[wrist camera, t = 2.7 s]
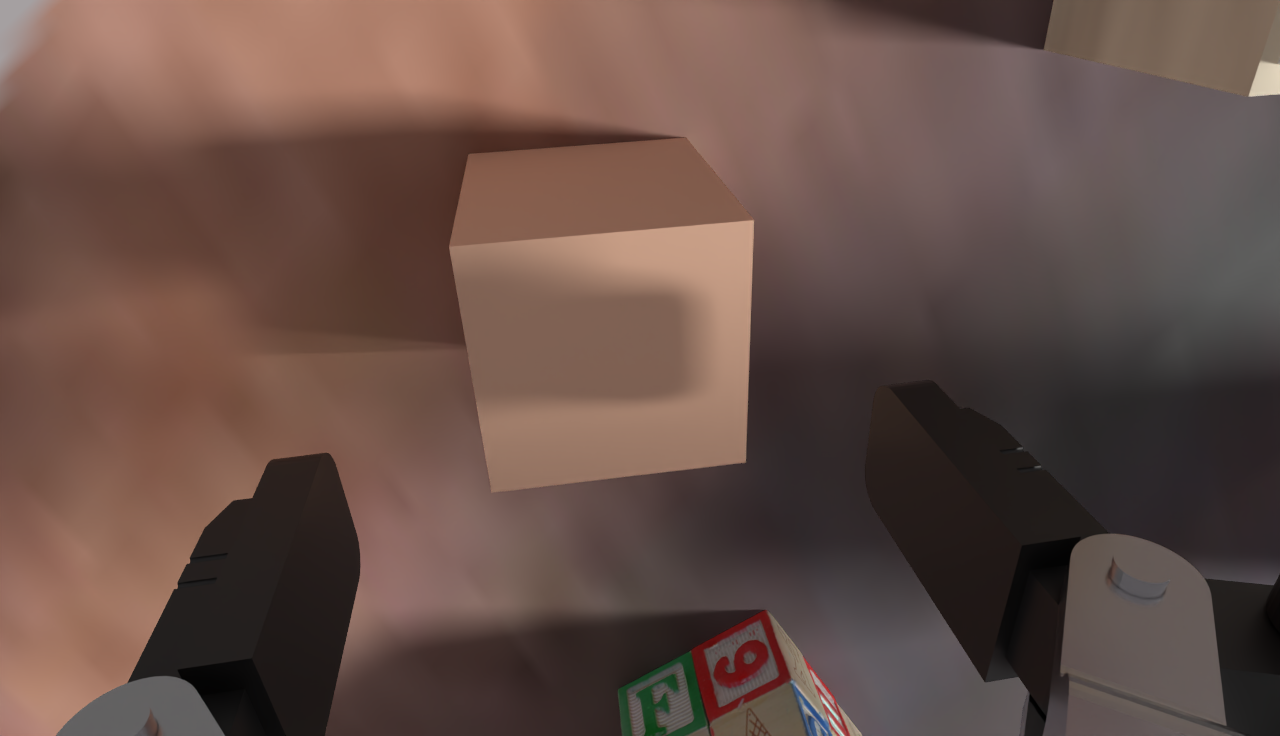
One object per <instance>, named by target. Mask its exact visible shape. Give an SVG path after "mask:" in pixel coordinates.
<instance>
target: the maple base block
mask: <svg viewBox="0 0 1280 736" xmlns="http://www.w3.org/2000/svg"><path fill="white" fill-rule="evenodd" d="M1044 50H1046V51H1050V52H1055V53H1059V54H1063V55H1068V56H1072V57H1077V58H1081V59H1085V60H1090V61H1094V62H1098V63H1103V64H1107V65H1112V66H1116V67H1120V68H1125V69H1129V70H1133V71H1138V72H1142V73H1147V74H1151V75H1155V76H1160V77H1164V78H1168V79H1173V80H1177V81H1182V82H1186V83H1190V84H1195V85H1199V86H1203V87H1208V88H1212V89H1217V90H1221V91H1225V92H1230V93H1234V94H1238V95H1243V96H1247V97H1251V96H1263V95H1275V94H1280V65H1279V64H1278V61H1279V58H1280V0H1054V1H1053V6H1052V11H1051V16H1050V21H1049V26H1048V31H1047V36H1046V41H1045V46H1044Z"/></svg>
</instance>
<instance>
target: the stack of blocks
mask: <svg viewBox="0 0 1280 736" xmlns="http://www.w3.org/2000/svg"><path fill="white" fill-rule="evenodd" d="M618 699H619V709H620V718H621V730H622V736H862V734H861V733H860V732H859V730H858V729H857V728H856V727H855V725H854V724H853V723H852V722H851V720H850V719H849V718H848V716H847V715H846V714H845V713H844V711H843V710H842V709H841V708H840V706H839V705H838V704H837V703H836V700H835V698H834V696H833V695H832V694H831V692H830V691H829V689H828V688H827V687H826V685H825V684H824V683H823V682H822V680H821V679H820V678H819V677H818V675H817V674H816V673H815V671H814V670H813V669H812V667H811V666H810V665H809V664H808V662H807V661H806V660H805V659H804V657H803V656H802V654H801V652H800V651H799V650H798V648H797V647H796V646H795V644H794V643H793V642H792V640H791V639H790V638H789V636H788V635H787V634H786V633H785V631H784V630H783V629H782V627H781V626H780V625H779V624H778V622H777V621H776V620H775V618H774V617H773V616H772V615H771V613H770V612H769V611H767V610H764V611H762V612H760V613H758V614H756V615H754V616H752V617H751V618H749V619H747V620H745V621H743V622H741V623H739V624H738V625H736V626H734V627H732V628H730V629H728V630H726V631H724V632H723V633H721V634H719V635H717V636H715V637H713V638H712V639H710V640H708V641H706V642H704V643H702V644H700V645H698V646H697V647H695V648H693V649H692V650H691V651H689V652H687V653H686V654H684V655H682V656H680V657H678V658H676V659H674V660H673V661H671V662H669V663H667V664H665V665H663V666H661V667H659V668H657V669H655V670H654V671H652V672H650V673H648V674H646V675H644V676H642V677H640V678H639V679H637V680H635V681H633V682H631V683H629V684H627V685H625V686H623V687H621V688H619V689H618Z"/></svg>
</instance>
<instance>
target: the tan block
mask: <svg viewBox="0 0 1280 736" xmlns="http://www.w3.org/2000/svg"><path fill="white" fill-rule="evenodd" d="M753 235H754V220H753V218H752V217H751V216H750V215H749V214H748V212H747V211H746V210H745V209H744V207H743V206H742V205H741V204H740V203H739V201H738V200H737V199H736V198H735V197H734V195H733V194H732V193H731V192H730V190H729V189H728V188H727V187H726V186H725V184H724V183H723V182H722V181H721V179H720V178H719V177H718V176H717V175H716V173H715V172H714V171H713V170H712V169H711V167H710V166H709V165H708V164H707V162H706V161H705V160H704V159H703V158H702V156H701V155H700V154H699V153H698V152H697V150H696V149H695V148H694V147H693V145H692V144H691V143H690V142H689V141H688V139H687V138H672V139H659V140H646V141H633V142H620V143H606V144H593V145H580V146H567V147H553V148H540V149H527V150H514V151H501V152H487V153H474V154H468V159H467V164H466V168H465V173H464V178H463V183H462V187H461V192H460V197H459V202H458V206H457V211H456V216H455V221H454V225H453V230H452V235H451V240H450V244H449V250H450V256H451V261H452V267H453V273H454V279H455V284H456V290H457V296H458V302H459V307H460V313H461V319H462V325H463V331H464V336H465V342H466V348H467V354H468V359H469V365H470V371H471V377H472V382H473V388H474V394H475V400H476V405H477V411H478V417H479V423H480V429H481V434H482V440H483V446H484V452H485V457H486V463H487V469H488V475H489V480H490V486H491V492H492V493H494V492H502V491H511V490H519V489H528V488H536V487H544V486H553V485H561V484H569V483H578V482H586V481H595V480H603V479H611V478H620V477H628V476H636V475H645V474H653V473H662V472H670V471H678V470H687V469H695V468H704V467H712V466H720V465H729V464H737V463H745V462H746V441H747V411H748V382H749V352H750V323H751V294H752V264H753Z"/></svg>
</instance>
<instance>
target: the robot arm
mask: <svg viewBox="0 0 1280 736" xmlns="http://www.w3.org/2000/svg"><path fill="white" fill-rule="evenodd" d="M865 481H866V487H867V492H868V495H869V498H870V501H871V503H872V506H873V508H874V509H875V511H876V513H877V514H878V516H879V517H880V519H881V520H882V522H883V524H884V525H885V527H886V528H887V530H888V531H889V533H890V535H891V536H892V538H893V539H894V541H895V542H896V544H897V546H898V547H899V549H900V550H901V552H902V553H903V555H904V556H905V558H906V560H907V561H908V563H909V564H910V566H911V567H912V569H913V571H914V572H915V574H916V575H917V577H918V578H919V580H920V581H921V583H922V585H923V586H924V588H925V589H926V591H927V592H928V594H929V596H930V597H931V599H932V600H933V602H934V603H935V605H936V607H937V608H938V610H939V611H940V613H941V614H942V616H943V617H944V619H945V621H946V622H947V624H948V625H949V627H950V628H951V630H952V632H953V633H954V635H955V636H956V638H957V639H958V641H959V643H960V644H961V646H962V647H963V649H964V650H965V652H966V653H967V655H968V657H969V658H970V660H971V661H972V663H973V664H974V666H975V668H976V669H977V671H978V672H979V674H980V675H981V677H982V679H983V680H984V682H991V681H997V680H1002V679H1008V678H1014V677H1019V678H1020V680H1021V681H1022V683H1023V684H1024V685H1025V687H1026V688H1027V690H1028V693H1027V696H1026V699H1025V702H1024V706H1023V712H1022V719H1021V727H1020V734H1019V736H1280V575H1279V577H1278V579H1277V581H1276V583H1275V585H1263V584H1253V583H1243V582H1233V581H1223V580H1213V579H1204V578H1203V576H1202V575H1201V574H1200V573H1199V571H1197V570H1196V569H1195V568H1194V567H1193V566H1192V565H1191V564H1190V563H1189V562H1187V561H1186V560H1185V559H1184V558H1182V557H1181V556H1179V555H1177V554H1176V553H1174V552H1173V551H1171V550H1169V549H1167V548H1165V547H1163V546H1161V545H1158V544H1156V543H1153V542H1151V541H1148V540H1145V539H1141V538H1138V537H1133V536H1129V535H1121V534H1109V533H1108V532H1107V531H1106V530H1105V529H1104V528H1103V527H1102V526H1101V525H1100V524H1099V523H1098V522H1097V521H1096V520H1095V519H1094V518H1093V517H1092V516H1091V515H1090V514H1089V513H1088V512H1087V511H1086V510H1085V509H1084V508H1083V507H1082V506H1081V505H1080V504H1079V503H1078V502H1077V501H1076V500H1075V499H1074V498H1073V497H1072V496H1071V495H1070V494H1069V493H1068V492H1067V491H1066V490H1065V489H1064V488H1063V487H1062V486H1061V485H1060V484H1059V483H1058V482H1057V481H1056V480H1055V479H1054V478H1053V477H1052V476H1051V475H1050V474H1049V473H1048V472H1047V471H1046V470H1042V469H1041V465H1040V464H1039V463H1038V462H1037V461H1036V460H1035V459H1034V458H1033V457H1032V456H1031V455H1030V454H1029V453H1028V452H1024V451H1023V447H1022V446H1021V445H1020V444H1019V443H1018V442H1017V441H1016V440H1015V439H1014V438H1013V437H1012V436H1011V435H1010V434H1009V433H1008V432H1007V431H1006V430H1005V429H1004V428H1003V427H1002V426H1001V425H1000V424H998V423H996V422H994V421H992V420H990V419H989V418H987V417H985V416H983V415H981V414H979V413H977V412H976V411H974V410H972V409H970V408H964V409H959V407H958V406H957V405H956V404H955V403H954V402H953V401H952V400H951V399H950V398H949V397H948V396H947V395H946V394H945V393H944V392H943V391H942V390H941V389H940V387H939V386H938V385H937V384H935V383H934V382H933V381H930V380H924V381H916V382H908V383H900V384H892V385H884V386H880V387H879V388H878V389H877V391H876V393H875V396H874V401H873V409H872V417H871V425H870V433H869V441H868V448H867V456H866V464H865ZM359 576H360V549H359V542H358V537H357V533H356V530H355V527H354V523H353V520H352V517H351V513H350V510H349V507H348V504H347V500H346V497H345V494H344V490H343V487H342V484H341V480H340V477H339V474H338V471H337V467H336V464H335V462H334V460H333V458H332V456H331V455H330V454H328V453H321V454H313V455H305V456H297V457H289V458H281V459H273V460H271V461H270V462H269V463H268V465H267V466H266V469H265V471H264V473H263V475H262V478H261V480H260V482H259V484H258V487H257V489H256V491H255V494H254V496H253V498H250V499H243V500H235V501H232V502H231V503H230V504H229V505H228V506H227V507H226V508H225V509H224V510H223V511H222V512H221V513H220V514H219V515H218V516H217V517H216V518H215V519H214V520H213V521H212V522H211V523H210V524H209V525H208V526H206V527H205V529H204V531H203V533H202V535H201V537H200V539H199V541H198V543H197V545H196V547H195V549H194V551H193V553H192V555H191V557H190V564H187V565H186V567H185V569H184V571H183V573H182V575H181V577H180V579H179V581H178V589H174V591H173V593H172V595H171V597H170V599H169V601H168V603H167V605H166V607H165V609H164V611H163V613H162V615H161V617H160V619H159V621H158V623H157V625H156V627H155V629H154V631H153V633H152V635H151V637H150V639H149V641H148V643H147V645H146V647H145V649H144V651H143V653H142V655H141V657H140V659H139V661H138V663H137V665H136V667H135V669H134V671H133V673H132V675H131V677H130V679H129V681H128V683H127V684H124V685H122V686H119V687H117V688H115V689H113V690H111V691H109V692H107V693H105V694H103V695H102V696H100V697H99V698H97V699H95V700H94V701H92V702H91V703H89V704H88V705H87V706H85V707H84V708H83V709H82V710H80V711H79V712H78V713H77V714H76V715H75V716H73V717H72V718H71V719H70V720H69V721H68V722H67V723H66V724H65V725H64V726H63V728H62V729H61V730H60V731H59V732H58V733H57V735H56V736H325V731H326V727H327V722H328V718H329V713H330V709H331V704H332V700H333V695H334V690H335V686H336V681H337V677H338V672H339V668H340V663H341V659H342V654H343V650H344V645H345V641H346V636H347V632H348V627H349V623H350V618H351V614H352V609H353V605H354V600H355V596H356V591H357V587H358V582H359Z"/></svg>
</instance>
